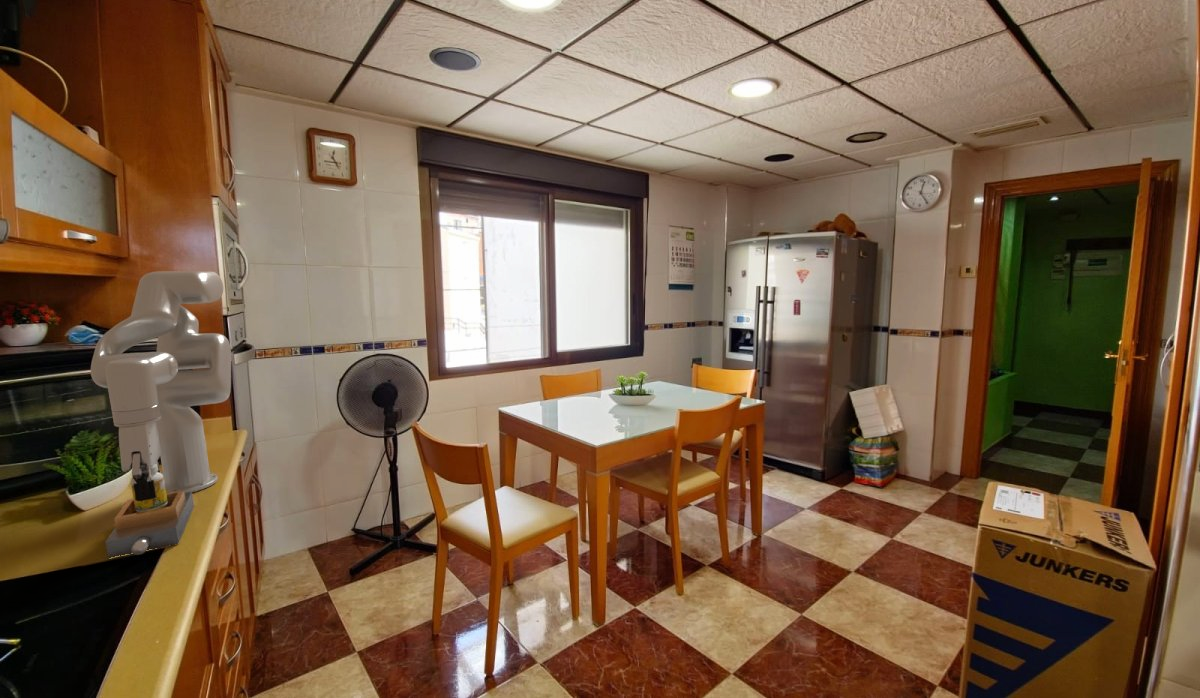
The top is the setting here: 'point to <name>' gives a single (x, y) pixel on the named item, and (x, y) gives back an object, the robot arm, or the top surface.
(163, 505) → the supplement bottle
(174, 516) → the gray brown rimmed box
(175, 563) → the top surface
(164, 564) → the top surface
